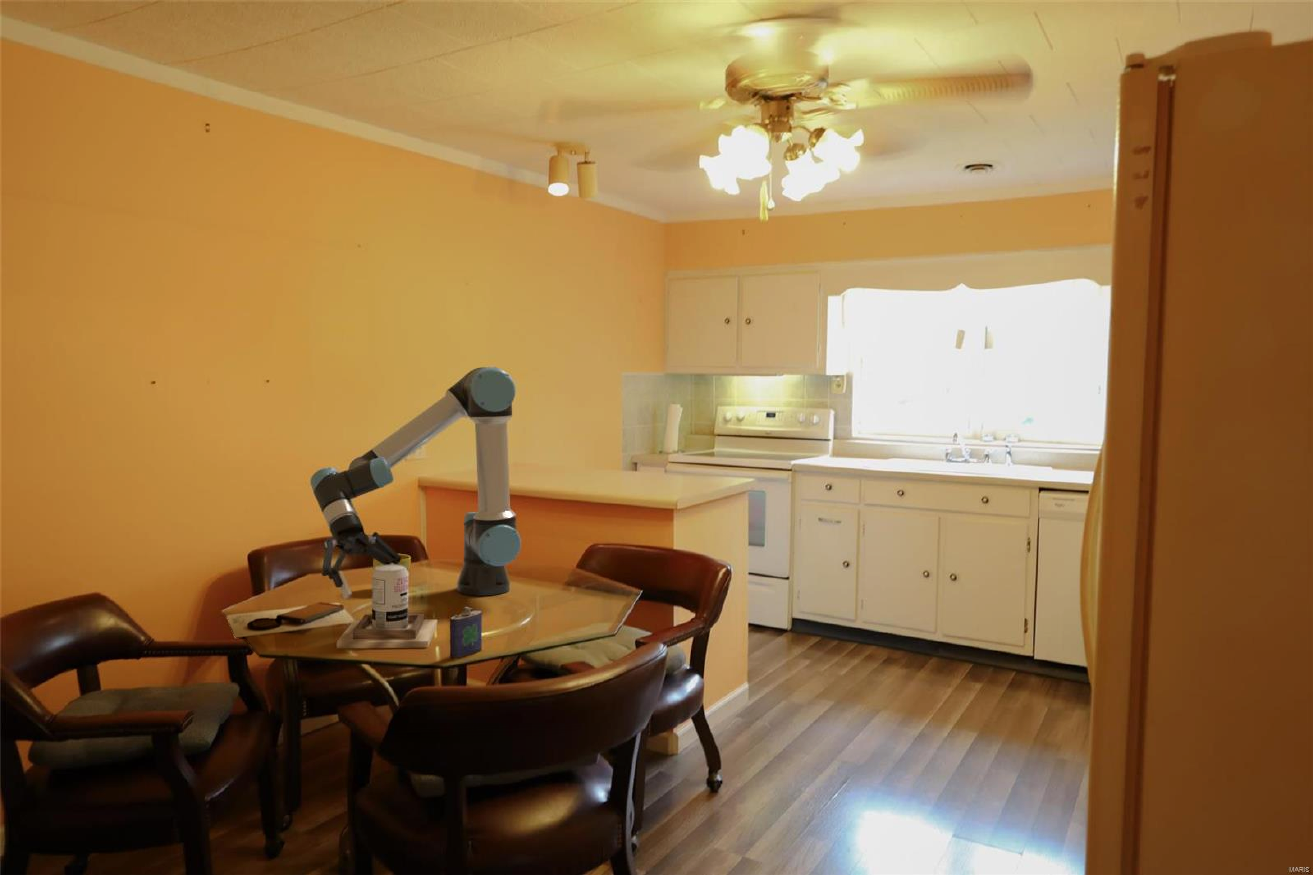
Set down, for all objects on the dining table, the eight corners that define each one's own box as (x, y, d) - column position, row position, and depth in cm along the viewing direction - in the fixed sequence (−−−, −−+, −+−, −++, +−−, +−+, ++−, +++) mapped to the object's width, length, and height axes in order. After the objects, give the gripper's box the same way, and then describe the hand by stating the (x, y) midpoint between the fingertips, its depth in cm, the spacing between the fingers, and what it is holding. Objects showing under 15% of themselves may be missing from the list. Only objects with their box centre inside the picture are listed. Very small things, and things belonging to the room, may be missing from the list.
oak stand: (437, 625, 216) (437, 611, 216) (427, 647, 199) (428, 632, 198) (353, 626, 214) (353, 612, 214) (336, 648, 196) (336, 633, 196)
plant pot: (414, 586, 256) (414, 553, 256) (405, 595, 246) (405, 560, 245) (378, 585, 256) (379, 552, 255) (368, 594, 245) (368, 559, 245)
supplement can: (376, 625, 210) (376, 563, 209) (411, 625, 211) (411, 563, 210) (368, 634, 202) (368, 571, 201) (404, 635, 203) (404, 571, 202)
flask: (476, 647, 200) (476, 601, 199) (485, 650, 198) (486, 603, 197) (446, 658, 192) (447, 610, 191) (456, 660, 190) (457, 612, 189)
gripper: (382, 526, 230) (413, 592, 221) (290, 536, 211) (319, 610, 202) (393, 508, 226) (425, 575, 217) (300, 518, 207) (331, 591, 198)
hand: (374, 592), depth 210 cm, fingers open, 13 cm apart
